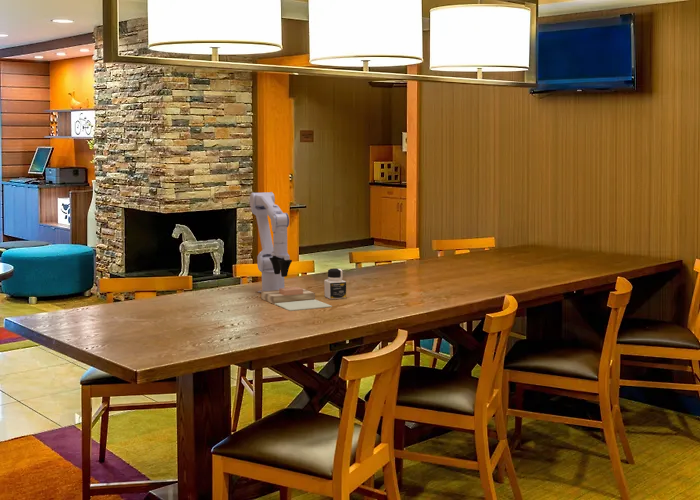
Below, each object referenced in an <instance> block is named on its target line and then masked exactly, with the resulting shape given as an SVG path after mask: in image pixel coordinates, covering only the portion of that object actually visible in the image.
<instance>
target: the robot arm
mask: <svg viewBox="0 0 700 500" xmlns="http://www.w3.org/2000/svg"><path fill="white" fill-rule="evenodd" d="M275 200H276V198H275V194H274V193H273V191H270V192H267V191H266V192H264V191H263V192H251V193H250V195H249V204H250V210H251V213H252V214H253V215H255V218H256V223H257V228H258V234H259V238H260V245H261V251H259V253H258V255H257V256H256V257H257V258H256V259H257V261H256V262H257V263H256V265H257V269H258V271H259V272H261V289H260V290H258V291H257V292H258V293H260V294H261V291H272V290H279V288H285V277H288V273H289V269H290V266H291V264H292V261H293V260H292V259H291V257H290V254H289V253H288V227H289V226H290V217H289V214H288V212H283V210H282V209H281V208H280V206H279V205H278V204H276V203H275V202H276V201H275ZM268 217H269V218H268ZM269 219H270V222H269ZM270 223H271V226H270ZM270 227H271V228H270ZM271 231H272V232H273V233H271ZM272 234H273V235H272ZM272 236H273V237H272Z"/></svg>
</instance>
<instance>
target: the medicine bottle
mask: <svg viewBox="0 0 700 500" xmlns="http://www.w3.org/2000/svg"><path fill="white" fill-rule="evenodd" d="M323 283H324V297H325V298H326V299H329V300H337V299H338V300H339V299H346V298H347V281H346V280H343V270H342V269H341V268H334V267H333V268H330V269H328V270H327V279H324V282H323Z"/></svg>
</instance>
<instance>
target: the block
mask: <svg viewBox="0 0 700 500" xmlns="http://www.w3.org/2000/svg"><path fill="white" fill-rule="evenodd" d="M303 289H304V288H302V287H299V286H292V287H291V286H290V287H284V288H279V293H280V294H282V295H297V294H303Z"/></svg>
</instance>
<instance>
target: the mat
mask: <svg viewBox="0 0 700 500" xmlns="http://www.w3.org/2000/svg"><path fill="white" fill-rule="evenodd" d="M273 305H275V306H278V307H280V308H282V309H285V310H286V311H289V312H296V311H303V310H313V309H316V310H317V309H323V308H332V307H333V305H330V304H328V303H326V302H324V301H323V302H322V301H320V300H318V299H315V300H304V301H294V302H283V303H274V304H273Z"/></svg>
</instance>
